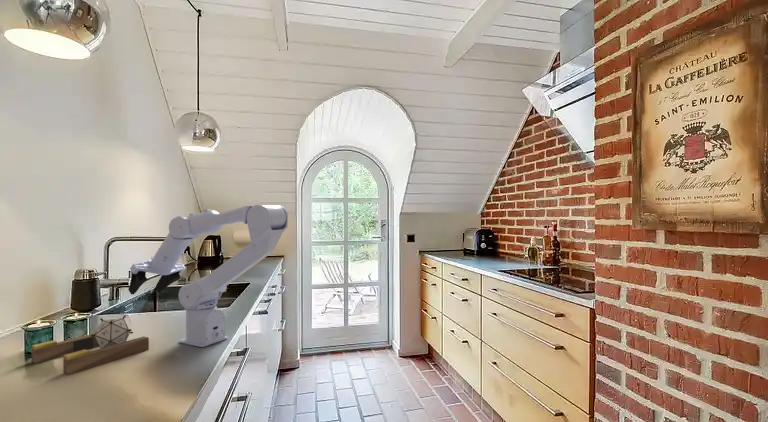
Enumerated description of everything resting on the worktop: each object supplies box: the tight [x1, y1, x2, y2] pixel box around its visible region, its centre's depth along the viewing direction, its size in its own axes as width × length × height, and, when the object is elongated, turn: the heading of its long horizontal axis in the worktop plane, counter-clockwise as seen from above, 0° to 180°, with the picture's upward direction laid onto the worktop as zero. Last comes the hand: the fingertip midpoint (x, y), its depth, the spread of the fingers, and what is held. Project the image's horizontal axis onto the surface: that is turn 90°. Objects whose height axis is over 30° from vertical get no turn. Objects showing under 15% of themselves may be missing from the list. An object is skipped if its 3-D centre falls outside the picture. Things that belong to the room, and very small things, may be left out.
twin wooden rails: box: [31, 332, 150, 375], centre depth 94 cm, size 16×17×4 cm
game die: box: [89, 315, 134, 349], centre depth 98 cm, size 9×8×10 cm
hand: (144, 291), depth 110 cm, fingers open, 7 cm apart
